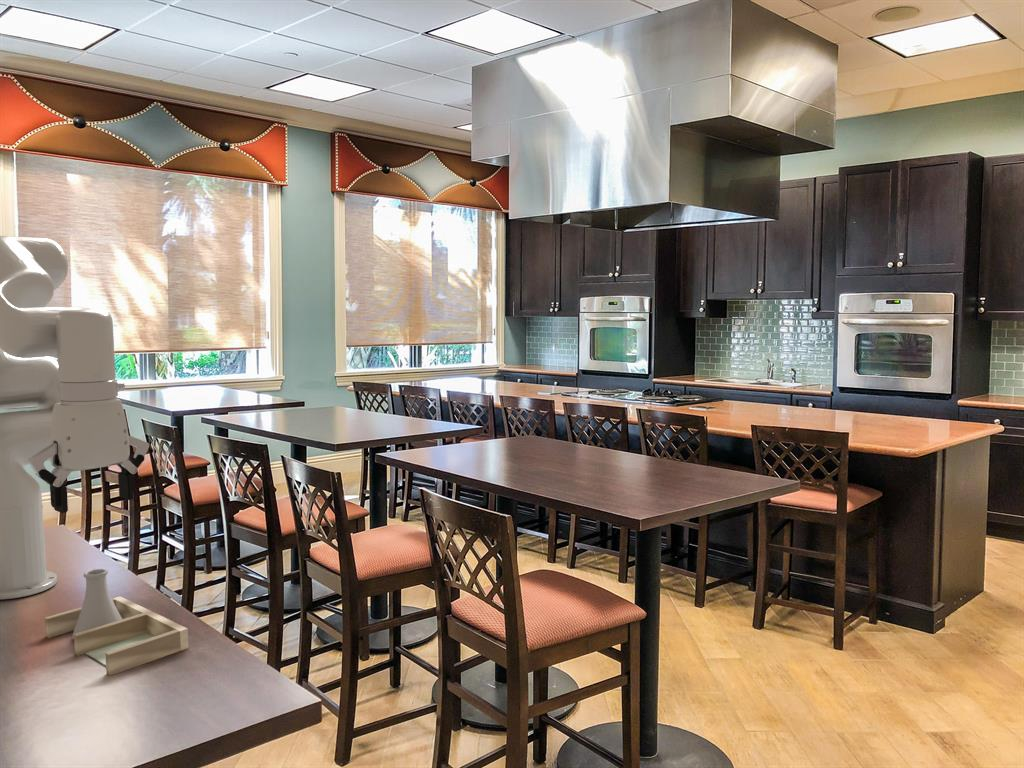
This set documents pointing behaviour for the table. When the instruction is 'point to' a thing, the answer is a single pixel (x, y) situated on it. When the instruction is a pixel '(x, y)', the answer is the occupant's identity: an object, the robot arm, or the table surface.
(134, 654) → the comb rack
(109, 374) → the robot arm
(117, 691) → the table surface
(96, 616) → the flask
